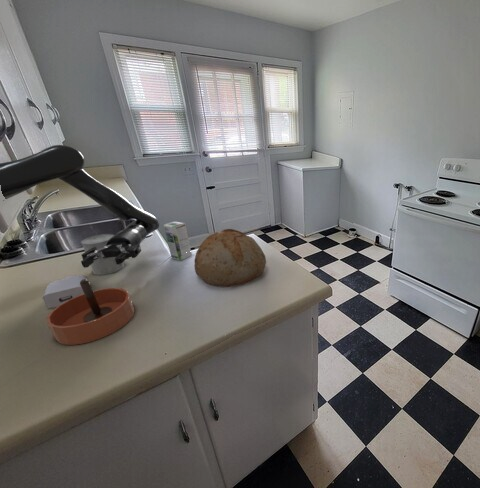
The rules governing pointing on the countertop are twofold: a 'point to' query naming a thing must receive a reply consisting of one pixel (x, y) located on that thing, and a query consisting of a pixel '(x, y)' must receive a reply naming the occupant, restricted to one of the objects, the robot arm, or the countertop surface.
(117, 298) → the bowl
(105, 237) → the white cylinder
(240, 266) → the bread
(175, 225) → the syrup box
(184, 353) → the countertop surface
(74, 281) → the white drawer box
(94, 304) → the paper towel holder
